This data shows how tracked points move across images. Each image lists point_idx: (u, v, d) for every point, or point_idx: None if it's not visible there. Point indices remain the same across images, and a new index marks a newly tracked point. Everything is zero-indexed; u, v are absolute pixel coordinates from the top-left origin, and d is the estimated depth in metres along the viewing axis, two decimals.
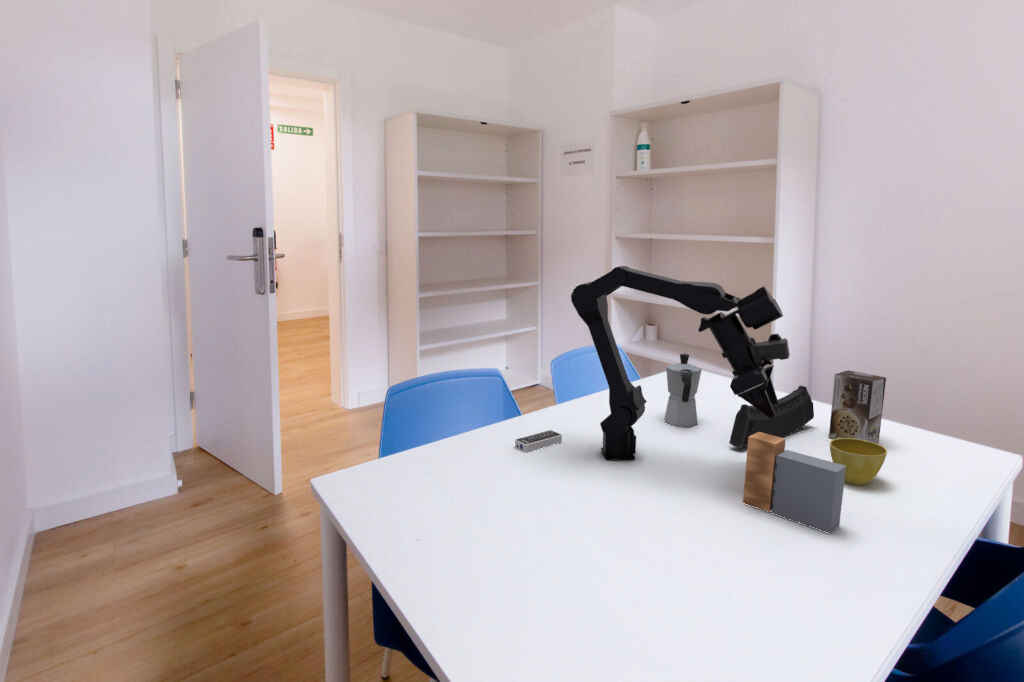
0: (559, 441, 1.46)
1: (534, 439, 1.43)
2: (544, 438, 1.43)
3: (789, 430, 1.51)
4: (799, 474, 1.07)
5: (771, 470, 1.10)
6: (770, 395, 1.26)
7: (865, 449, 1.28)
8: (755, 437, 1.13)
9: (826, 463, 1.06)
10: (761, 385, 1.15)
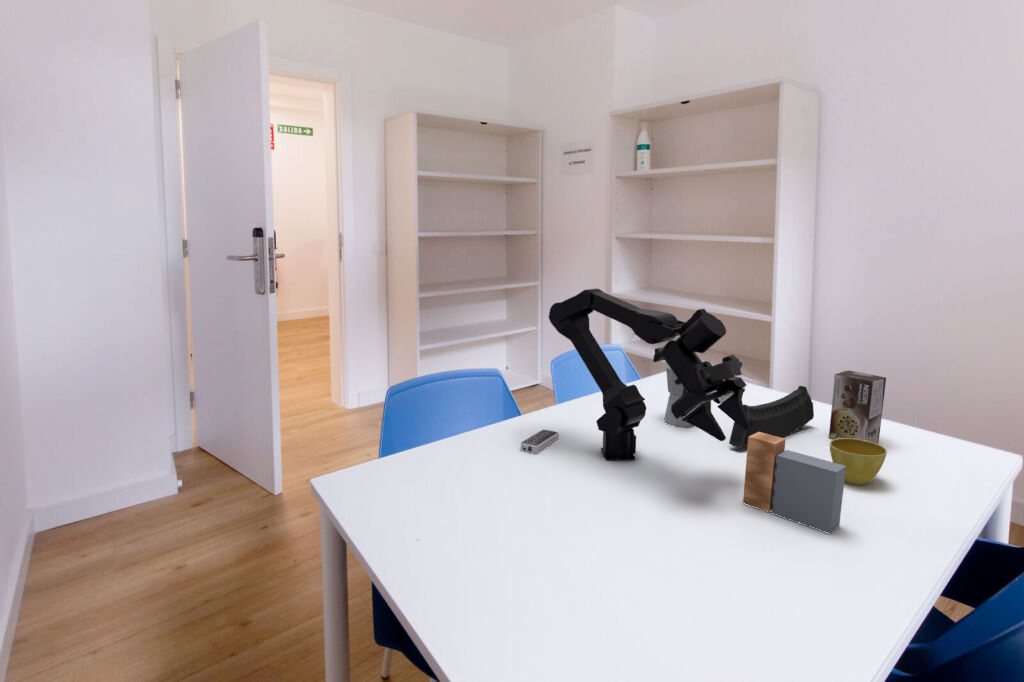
0: (557, 439, 1.47)
1: (538, 440, 1.42)
2: (546, 438, 1.44)
3: (789, 430, 1.51)
4: (799, 474, 1.07)
5: (771, 470, 1.10)
6: (741, 420, 1.21)
7: (865, 449, 1.28)
8: (755, 437, 1.13)
9: (826, 463, 1.06)
10: (698, 407, 1.13)
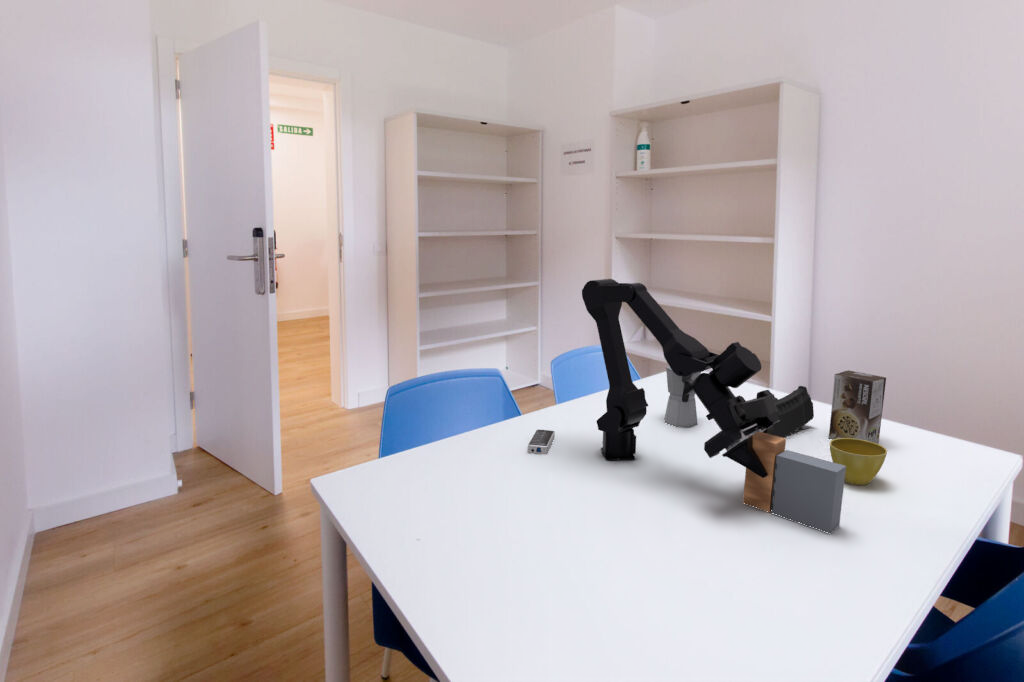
0: (554, 437, 1.48)
1: (543, 440, 1.42)
2: (548, 437, 1.44)
3: (789, 430, 1.51)
4: (799, 474, 1.07)
5: (772, 469, 1.10)
6: None
7: (865, 449, 1.28)
8: (755, 437, 1.13)
9: (826, 463, 1.06)
10: (740, 443, 1.10)
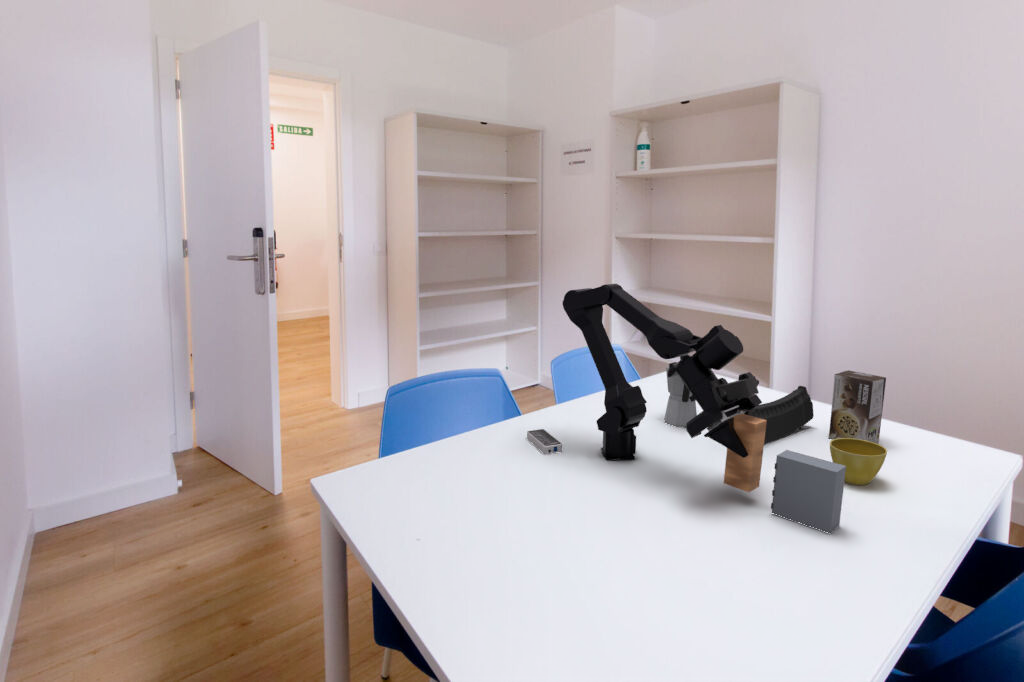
0: None
1: (550, 439, 1.43)
2: (549, 435, 1.45)
3: (788, 430, 1.51)
4: (799, 474, 1.07)
5: (752, 450, 1.13)
6: None
7: (865, 449, 1.28)
8: (737, 418, 1.15)
9: (826, 463, 1.06)
10: (721, 423, 1.13)
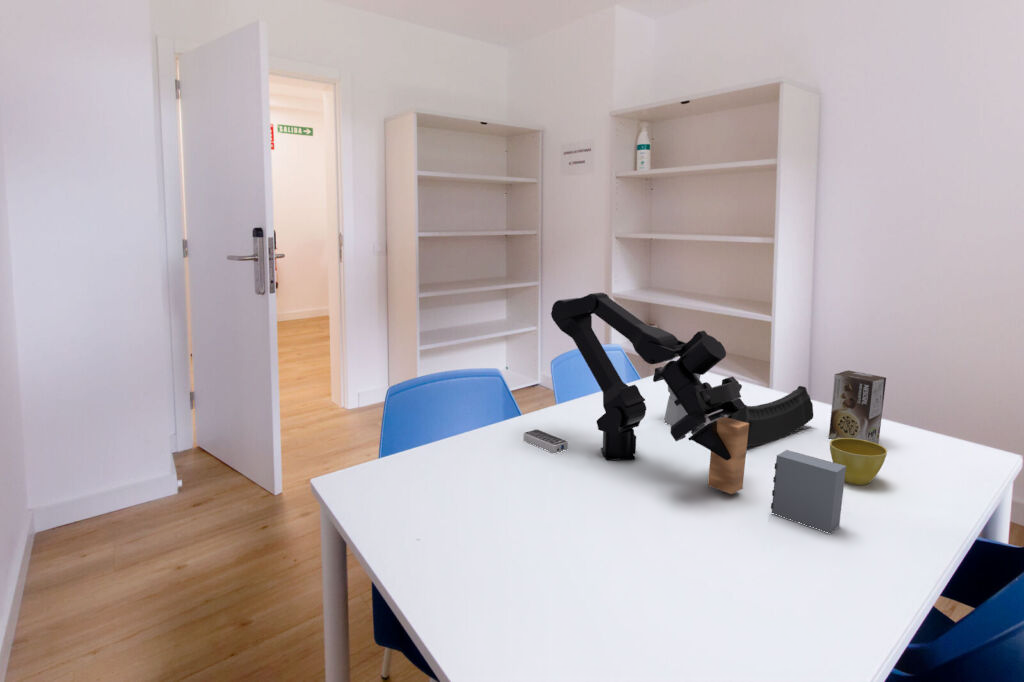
0: None
1: (552, 438, 1.43)
2: (549, 435, 1.46)
3: (788, 430, 1.51)
4: (799, 474, 1.07)
5: (734, 452, 1.15)
6: None
7: (865, 449, 1.28)
8: (720, 421, 1.18)
9: (826, 463, 1.06)
10: (704, 427, 1.15)
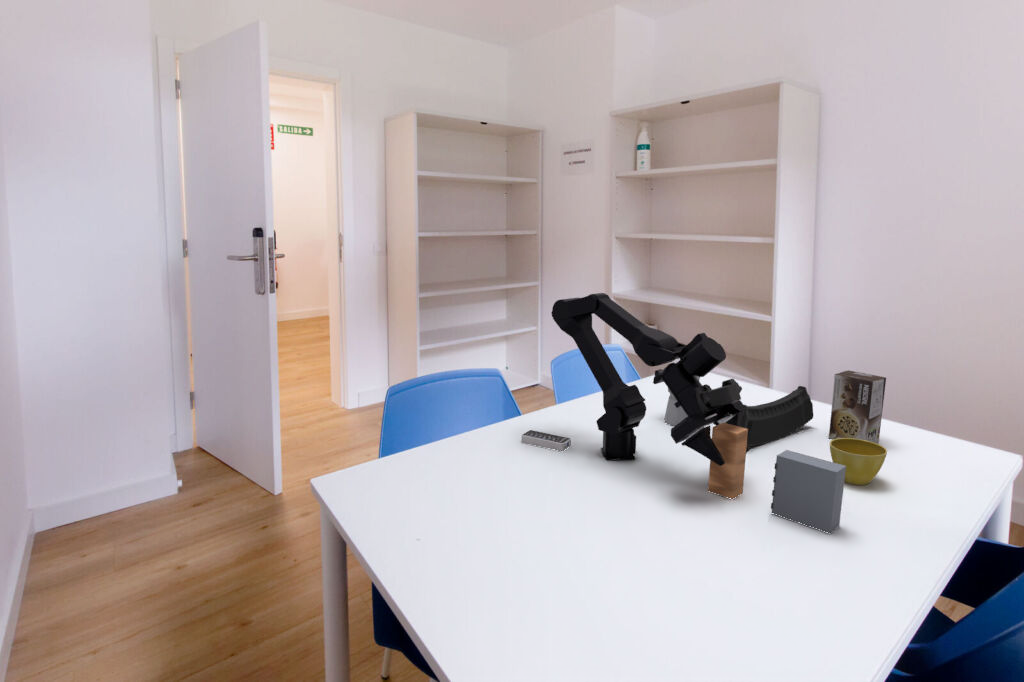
0: None
1: (554, 437, 1.44)
2: (547, 434, 1.46)
3: (788, 430, 1.51)
4: (799, 474, 1.07)
5: (734, 459, 1.16)
6: None
7: (865, 449, 1.28)
8: (719, 427, 1.18)
9: (826, 463, 1.06)
10: (697, 432, 1.14)
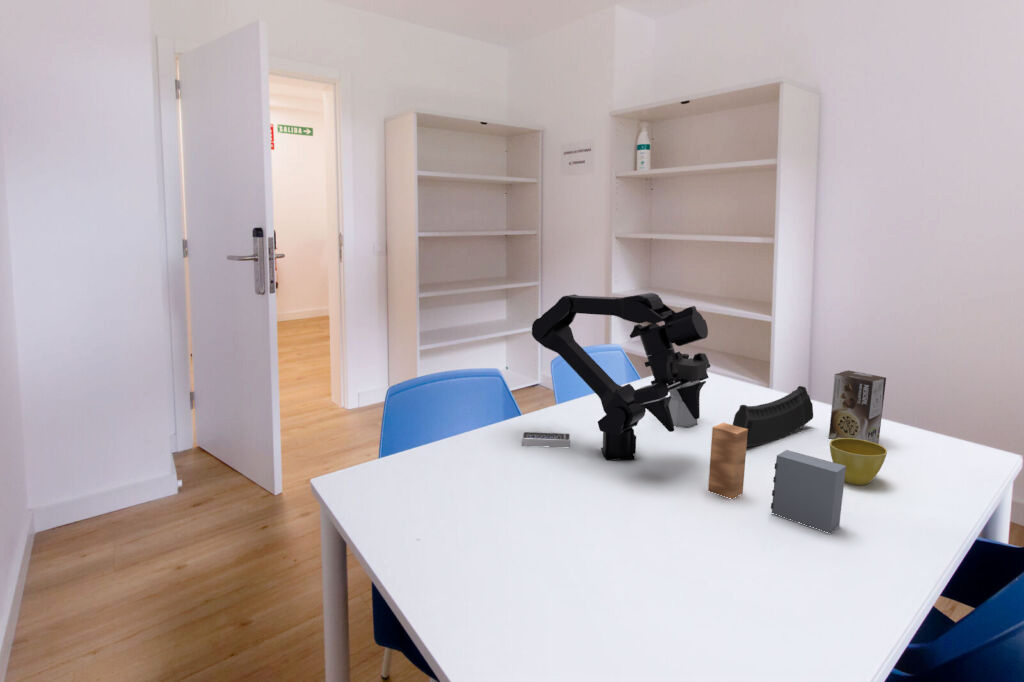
0: None
1: (554, 435, 1.46)
2: (544, 433, 1.47)
3: (788, 430, 1.51)
4: (799, 474, 1.07)
5: (734, 459, 1.16)
6: (693, 409, 1.31)
7: (865, 449, 1.28)
8: (719, 427, 1.18)
9: (826, 463, 1.06)
10: (658, 401, 1.21)
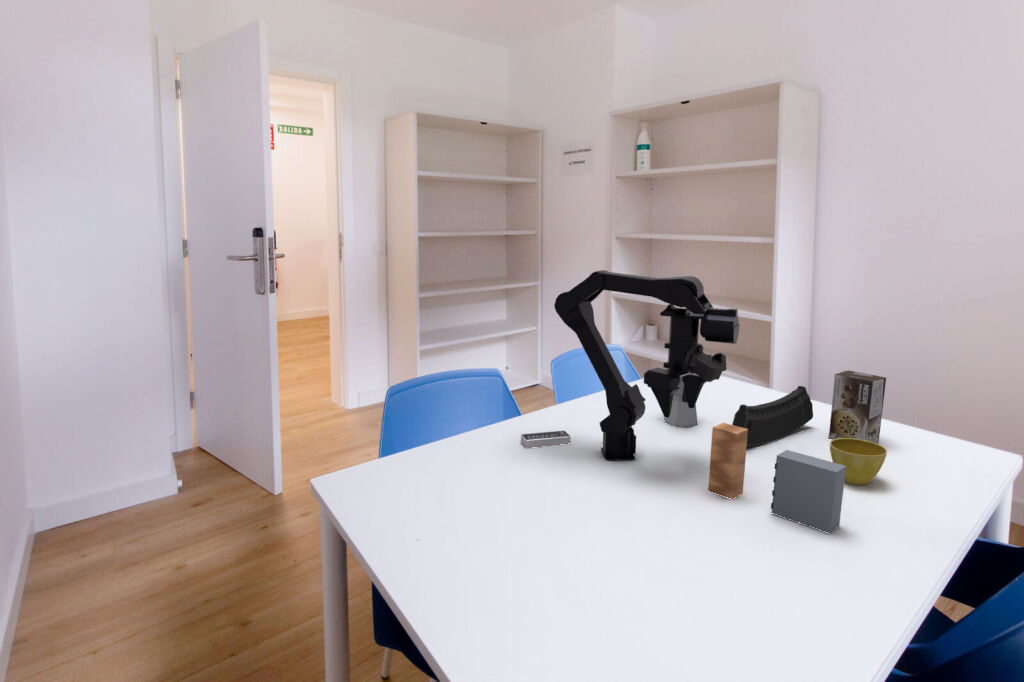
0: None
1: (552, 433, 1.47)
2: (542, 433, 1.47)
3: (788, 430, 1.51)
4: (799, 474, 1.07)
5: (734, 459, 1.16)
6: (691, 398, 1.33)
7: (865, 449, 1.28)
8: (719, 427, 1.18)
9: (826, 463, 1.06)
10: (666, 389, 1.22)
